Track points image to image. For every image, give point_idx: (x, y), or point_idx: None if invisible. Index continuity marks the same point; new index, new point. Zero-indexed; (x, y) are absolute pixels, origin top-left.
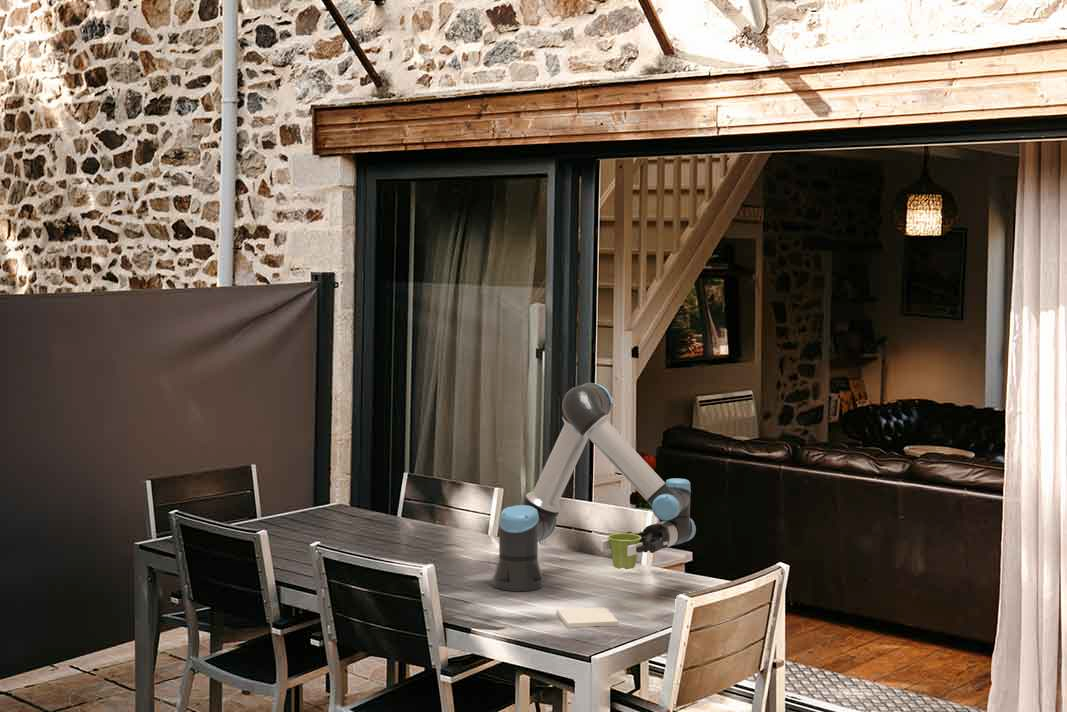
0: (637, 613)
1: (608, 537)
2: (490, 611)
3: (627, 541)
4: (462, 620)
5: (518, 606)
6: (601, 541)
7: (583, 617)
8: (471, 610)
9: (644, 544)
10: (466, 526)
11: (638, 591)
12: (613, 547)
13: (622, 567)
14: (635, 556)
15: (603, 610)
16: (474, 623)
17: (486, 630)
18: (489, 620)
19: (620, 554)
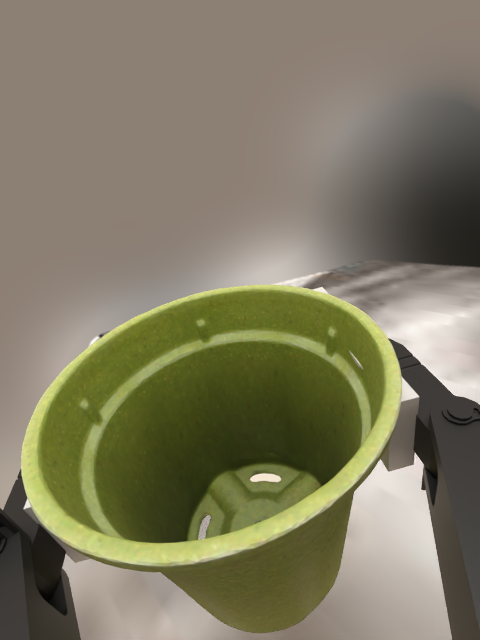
0: (192, 631)
1: (286, 286)
2: (423, 303)
3: (109, 338)
4: (376, 269)
5: (455, 349)
6: (316, 289)
7: None
8: (443, 285)
9: (6, 527)
10: None
11: None
12: (248, 354)
13: (218, 474)
14: (145, 525)
15: (261, 480)
16: (349, 276)
17: (303, 280)
18: (357, 291)
19: (202, 402)
